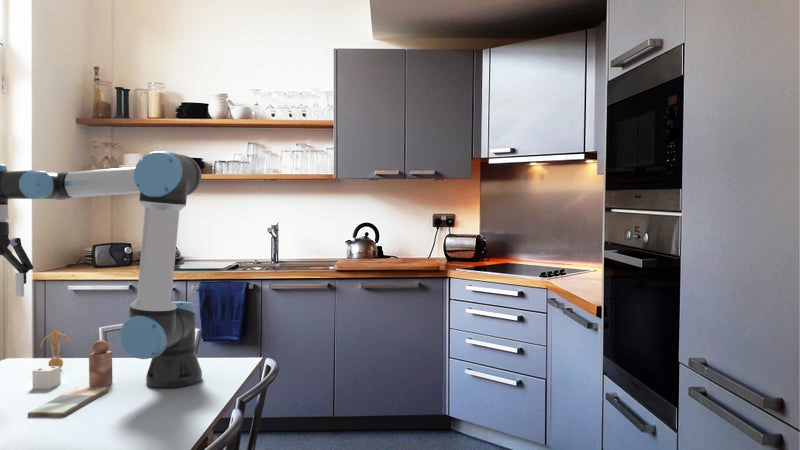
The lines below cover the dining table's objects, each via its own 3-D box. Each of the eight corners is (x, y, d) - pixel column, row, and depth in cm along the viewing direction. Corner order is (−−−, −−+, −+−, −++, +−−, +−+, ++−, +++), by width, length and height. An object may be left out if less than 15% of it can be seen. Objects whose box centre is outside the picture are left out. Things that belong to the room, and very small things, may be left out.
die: (60, 383, 184) (60, 366, 184) (50, 388, 179) (50, 370, 179) (43, 383, 184) (43, 365, 184) (32, 388, 179) (32, 370, 179)
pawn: (112, 382, 185) (111, 338, 185) (104, 386, 181) (104, 341, 180) (97, 382, 185) (96, 338, 185) (89, 386, 181) (88, 341, 180)
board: (107, 391, 176) (107, 387, 176) (64, 417, 155) (64, 412, 155) (75, 391, 176) (75, 387, 176) (27, 416, 155) (27, 412, 155)
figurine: (40, 373, 195) (39, 333, 195) (40, 368, 201) (39, 330, 200) (71, 369, 199) (70, 331, 199) (70, 365, 205) (70, 327, 204)
